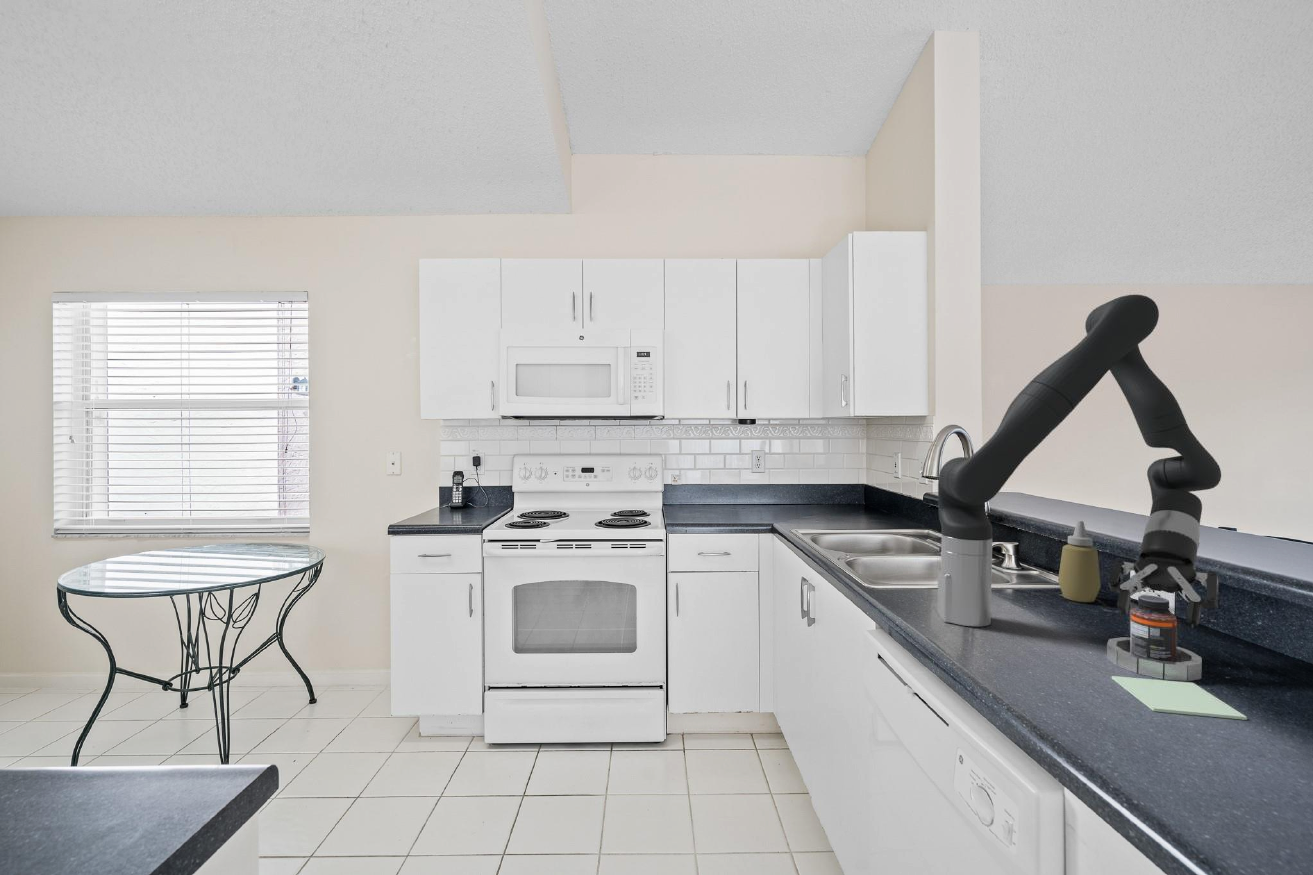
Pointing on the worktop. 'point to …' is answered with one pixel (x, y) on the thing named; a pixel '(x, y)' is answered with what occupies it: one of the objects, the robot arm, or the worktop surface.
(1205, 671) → the worktop surface
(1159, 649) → the supplement bottle
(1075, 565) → the squeeze bottle
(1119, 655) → the holder ring
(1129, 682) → the mat
